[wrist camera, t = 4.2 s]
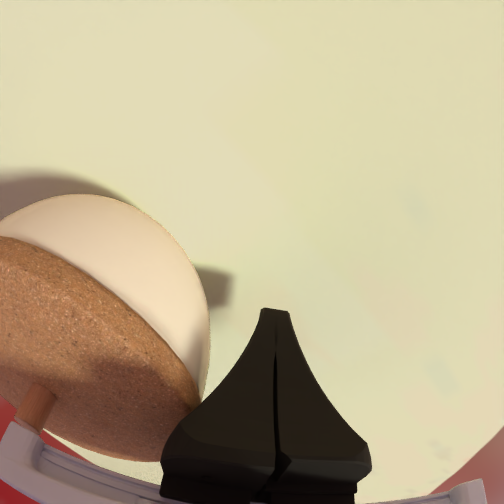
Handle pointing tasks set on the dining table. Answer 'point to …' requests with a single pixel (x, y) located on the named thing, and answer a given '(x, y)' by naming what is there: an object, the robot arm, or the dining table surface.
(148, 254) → the lidded jar
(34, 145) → the dining table surface
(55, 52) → the dining table surface
